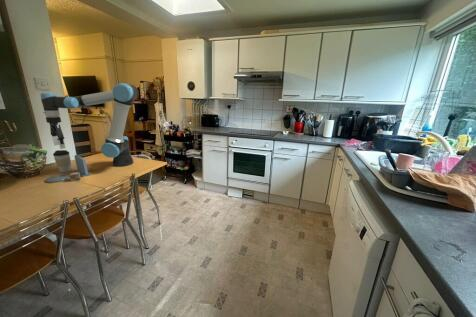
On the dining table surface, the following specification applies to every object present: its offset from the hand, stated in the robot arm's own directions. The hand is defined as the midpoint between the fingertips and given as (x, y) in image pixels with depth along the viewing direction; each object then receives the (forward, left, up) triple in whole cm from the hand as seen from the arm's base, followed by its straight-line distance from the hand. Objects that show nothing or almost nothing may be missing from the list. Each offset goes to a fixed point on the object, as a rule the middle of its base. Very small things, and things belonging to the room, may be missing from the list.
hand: (59, 146), depth 142 cm
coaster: (-5, +17, -18) cm, 25 cm away
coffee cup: (0, 0, -18) cm, 18 cm away
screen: (-15, +7, -18) cm, 25 cm away
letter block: (-17, +19, -18) cm, 31 cm away
